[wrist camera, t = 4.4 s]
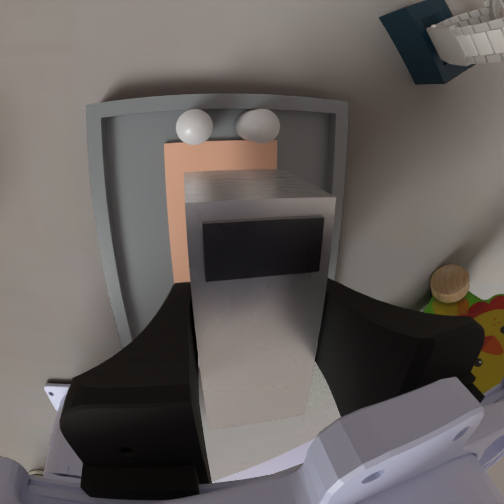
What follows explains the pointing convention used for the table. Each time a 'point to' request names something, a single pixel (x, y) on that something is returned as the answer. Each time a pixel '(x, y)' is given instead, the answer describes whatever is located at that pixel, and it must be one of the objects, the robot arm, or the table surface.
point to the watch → (446, 38)
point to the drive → (256, 289)
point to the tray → (190, 160)
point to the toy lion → (483, 311)
